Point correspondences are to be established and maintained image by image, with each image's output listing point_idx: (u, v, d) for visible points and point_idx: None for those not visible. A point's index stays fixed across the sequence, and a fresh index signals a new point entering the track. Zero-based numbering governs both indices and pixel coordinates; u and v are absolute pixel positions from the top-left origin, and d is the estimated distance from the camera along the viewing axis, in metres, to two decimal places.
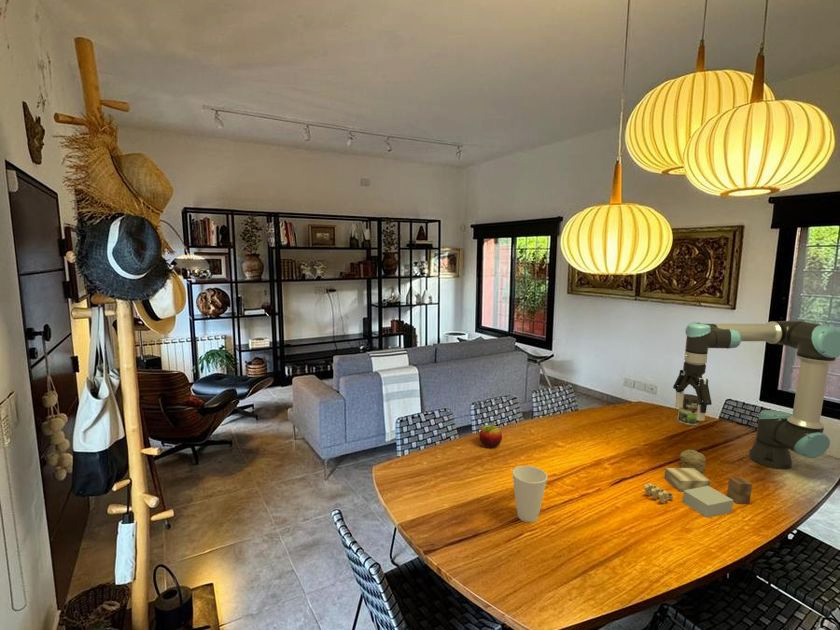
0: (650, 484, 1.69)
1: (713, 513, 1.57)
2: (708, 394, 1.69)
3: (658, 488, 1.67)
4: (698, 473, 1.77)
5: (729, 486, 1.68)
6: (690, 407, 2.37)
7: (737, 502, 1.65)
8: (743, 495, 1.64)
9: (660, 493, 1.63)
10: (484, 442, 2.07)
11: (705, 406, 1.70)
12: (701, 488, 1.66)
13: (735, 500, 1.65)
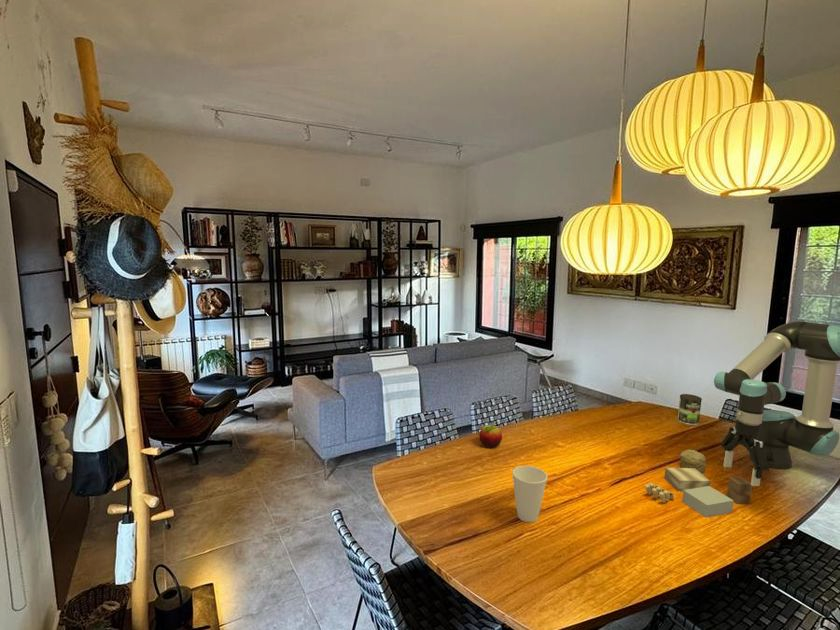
0: (651, 484, 1.70)
1: (712, 513, 1.57)
2: (765, 458, 1.55)
3: (659, 488, 1.67)
4: (698, 473, 1.77)
5: (729, 486, 1.68)
6: (690, 407, 2.37)
7: (737, 502, 1.65)
8: (743, 495, 1.64)
9: (661, 493, 1.63)
10: (484, 442, 2.07)
11: (761, 471, 1.56)
12: (702, 488, 1.66)
13: (735, 500, 1.65)
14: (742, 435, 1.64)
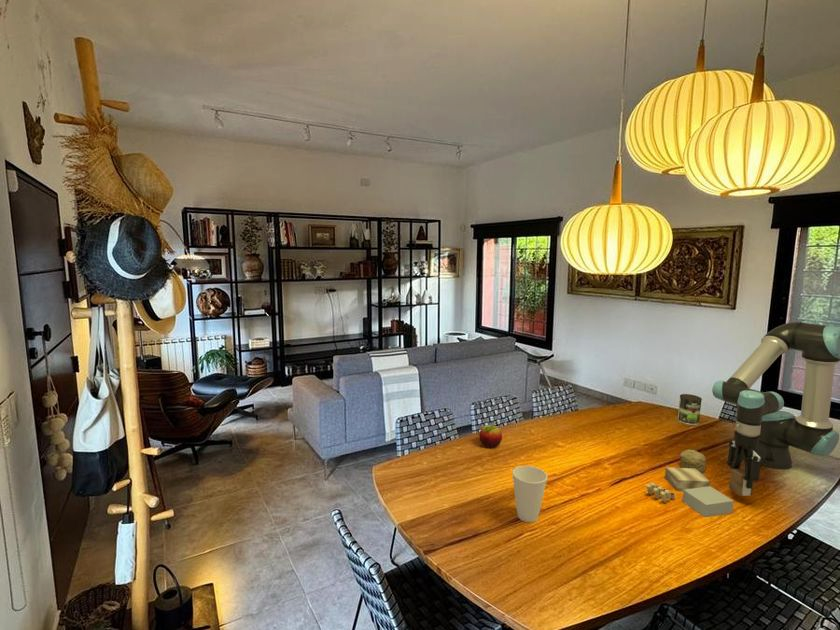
0: (652, 483, 1.70)
1: (712, 513, 1.57)
2: (758, 471, 1.59)
3: (660, 487, 1.67)
4: (699, 474, 1.77)
5: (731, 478, 1.68)
6: (690, 407, 2.37)
7: (739, 493, 1.64)
8: None
9: (662, 492, 1.64)
10: (484, 442, 2.07)
11: (751, 482, 1.62)
12: (702, 488, 1.66)
13: (737, 491, 1.65)
14: None
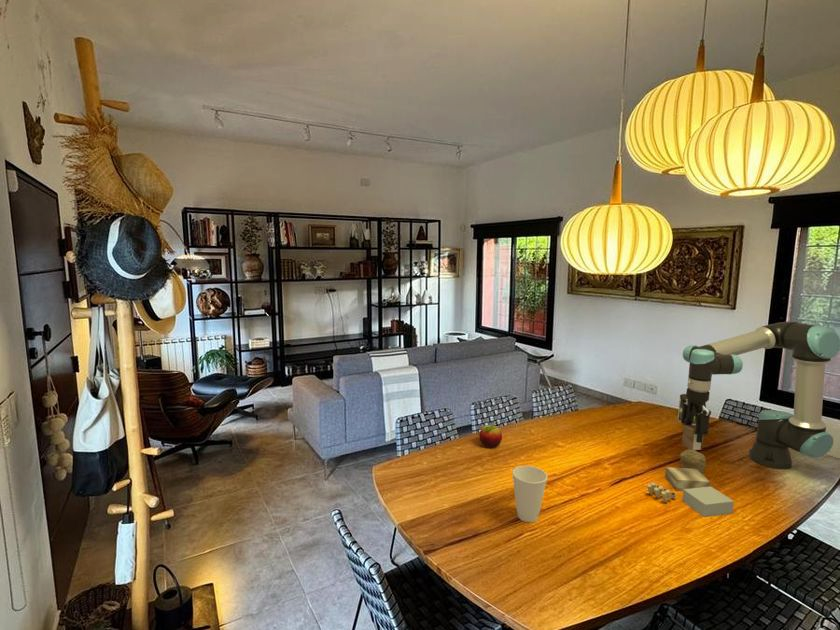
0: (653, 483, 1.70)
1: (711, 513, 1.57)
2: (707, 425, 1.67)
3: (661, 487, 1.67)
4: (699, 474, 1.77)
5: (683, 433, 1.75)
6: None
7: (690, 448, 1.72)
8: None
9: (663, 492, 1.64)
10: (484, 442, 2.07)
11: (701, 436, 1.69)
12: (702, 488, 1.66)
13: (688, 446, 1.73)
14: (692, 399, 1.72)
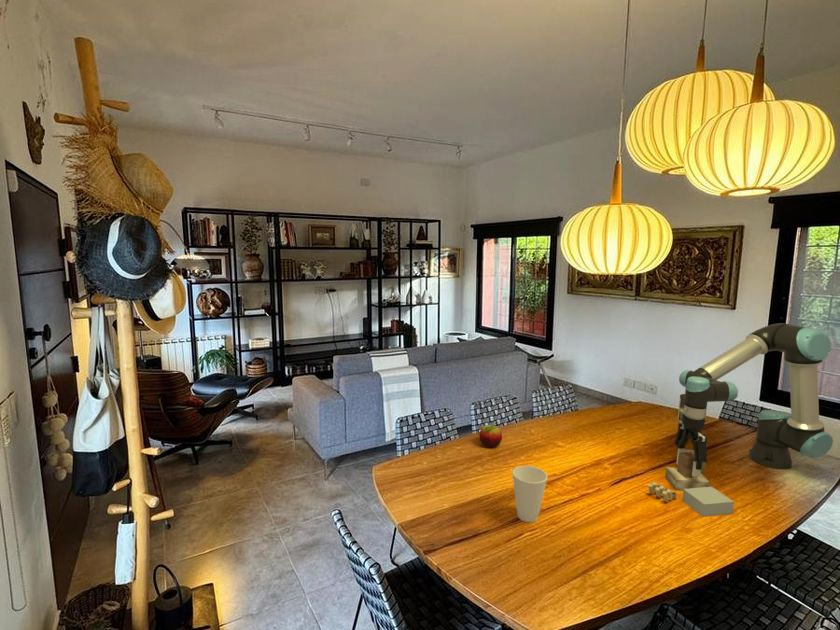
0: (654, 483, 1.70)
1: (710, 513, 1.57)
2: (705, 451, 1.67)
3: (662, 487, 1.67)
4: None
5: (679, 461, 1.78)
6: None
7: (685, 475, 1.74)
8: (691, 469, 1.74)
9: (664, 492, 1.64)
10: (484, 442, 2.07)
11: (700, 463, 1.69)
12: (703, 488, 1.66)
13: (683, 473, 1.75)
14: (688, 427, 1.74)
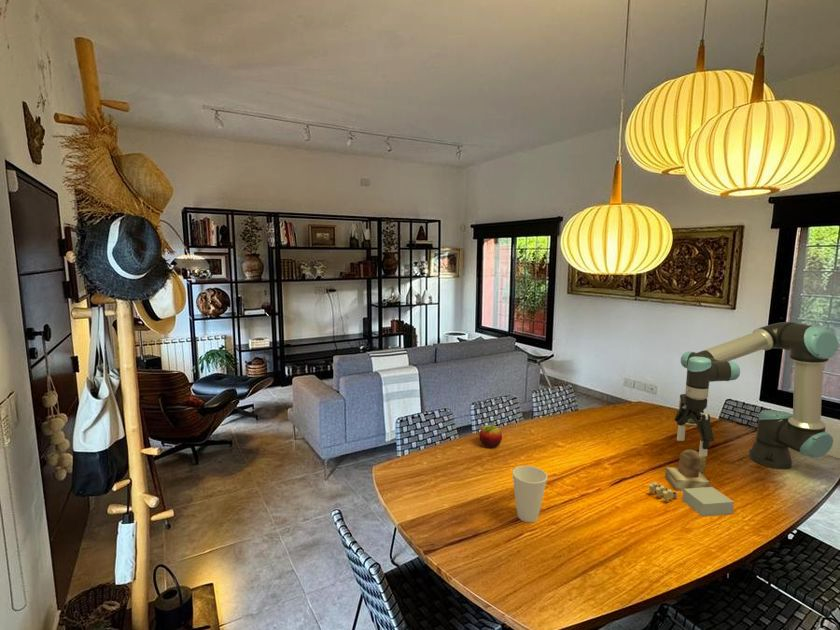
0: (654, 483, 1.70)
1: (710, 512, 1.57)
2: (710, 430, 1.65)
3: (663, 487, 1.68)
4: (699, 474, 1.77)
5: (680, 461, 1.78)
6: None
7: (687, 476, 1.74)
8: (693, 469, 1.74)
9: (665, 492, 1.64)
10: (484, 442, 2.07)
11: (707, 442, 1.66)
12: (703, 488, 1.66)
13: (685, 473, 1.75)
14: (691, 409, 1.73)
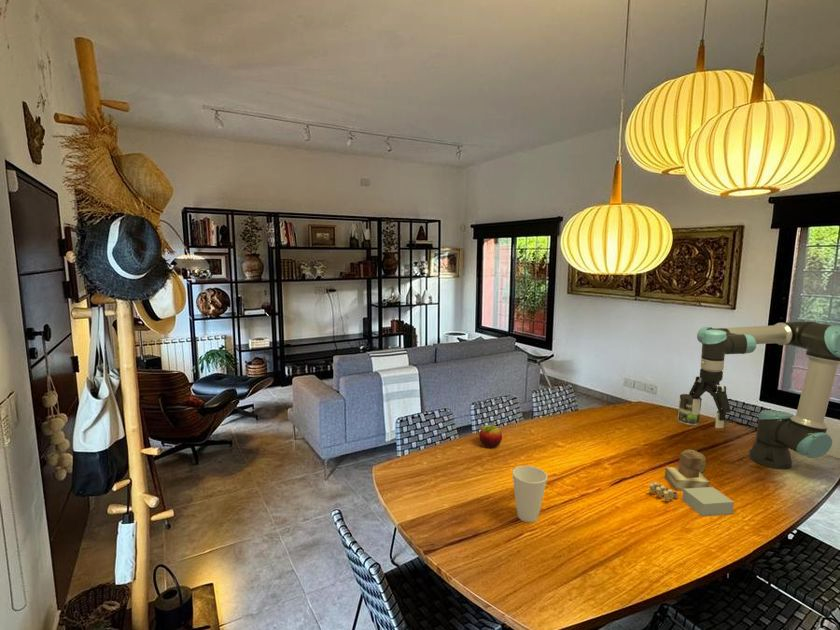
0: (655, 483, 1.71)
1: (710, 512, 1.57)
2: (726, 401, 1.67)
3: (663, 487, 1.68)
4: (699, 474, 1.77)
5: (680, 461, 1.77)
6: (690, 407, 2.37)
7: (687, 476, 1.74)
8: (693, 469, 1.74)
9: (665, 491, 1.64)
10: (484, 442, 2.07)
11: (724, 414, 1.68)
12: (703, 488, 1.66)
13: (685, 474, 1.75)
14: (706, 382, 1.75)
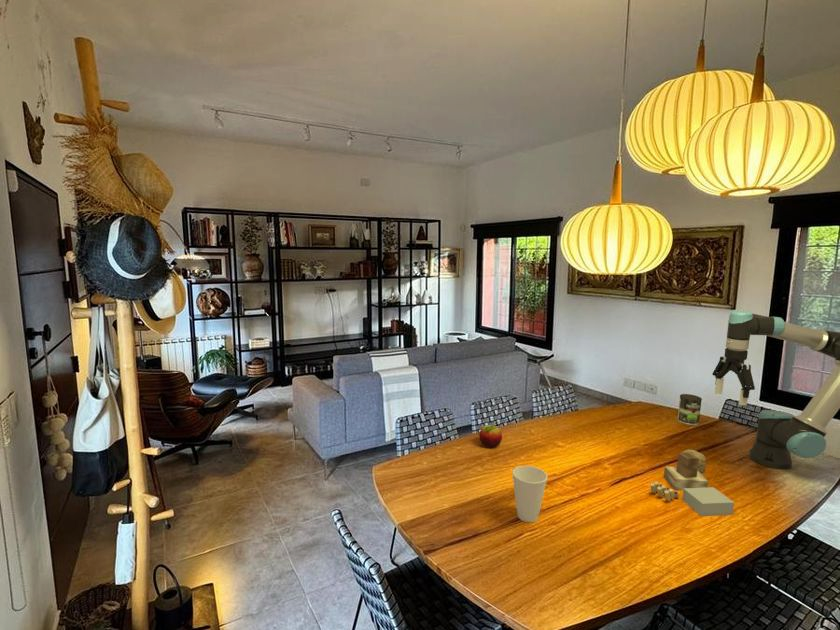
0: (656, 482, 1.71)
1: (709, 512, 1.57)
2: (751, 379, 1.72)
3: (664, 486, 1.68)
4: (698, 474, 1.77)
5: (678, 461, 1.77)
6: (690, 407, 2.37)
7: (685, 476, 1.74)
8: (691, 469, 1.74)
9: (666, 491, 1.65)
10: (484, 442, 2.07)
11: (748, 391, 1.73)
12: (704, 488, 1.66)
13: (683, 474, 1.75)
14: (731, 361, 1.80)
